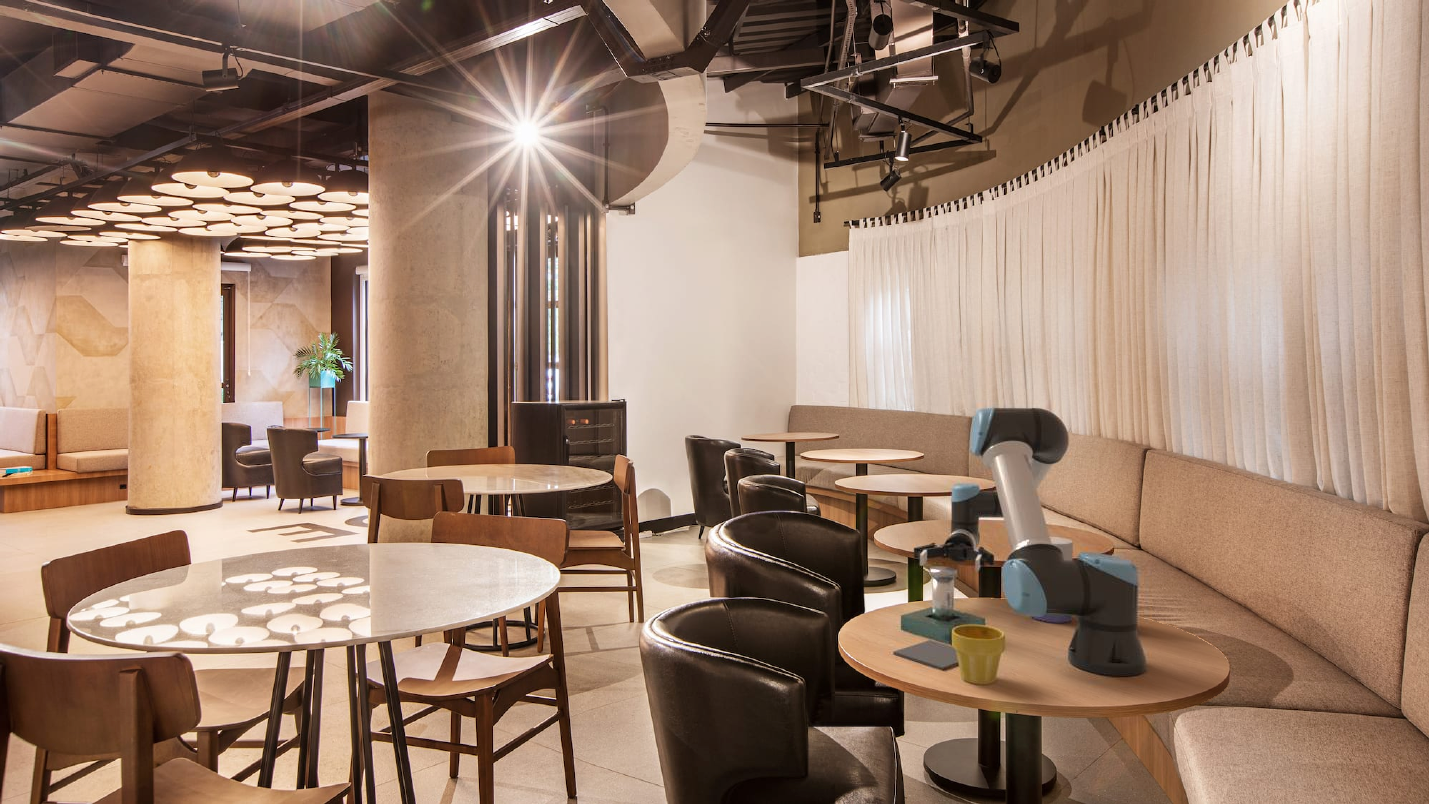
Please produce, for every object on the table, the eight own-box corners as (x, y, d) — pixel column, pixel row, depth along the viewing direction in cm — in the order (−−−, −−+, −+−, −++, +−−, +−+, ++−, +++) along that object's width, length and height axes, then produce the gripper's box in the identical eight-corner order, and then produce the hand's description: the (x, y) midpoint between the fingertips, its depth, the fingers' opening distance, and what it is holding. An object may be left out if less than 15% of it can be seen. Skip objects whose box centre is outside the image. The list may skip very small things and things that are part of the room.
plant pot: (946, 682, 171) (946, 634, 171) (957, 667, 180) (957, 621, 180) (999, 692, 166) (1000, 642, 166) (1008, 675, 175) (1009, 628, 175)
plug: (961, 631, 205) (962, 569, 204) (945, 637, 201) (946, 573, 200) (939, 625, 210) (940, 565, 209) (923, 630, 206) (924, 568, 205)
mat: (978, 657, 186) (978, 654, 186) (942, 670, 178) (942, 667, 178) (930, 642, 196) (930, 640, 196) (893, 654, 188) (893, 651, 188)
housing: (985, 632, 204) (985, 618, 204) (949, 644, 195) (949, 629, 195) (936, 619, 215) (936, 605, 215) (900, 629, 206) (900, 615, 206)
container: (1064, 612, 221) (1065, 536, 220) (1077, 624, 211) (1078, 543, 210) (1024, 611, 222) (1026, 535, 221) (1035, 622, 212) (1036, 542, 211)
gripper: (1007, 563, 229) (1000, 582, 209) (913, 555, 239) (898, 572, 219) (1008, 536, 228) (1001, 552, 209) (914, 528, 238) (899, 543, 219)
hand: (948, 562), depth 214 cm, fingers open, 13 cm apart
